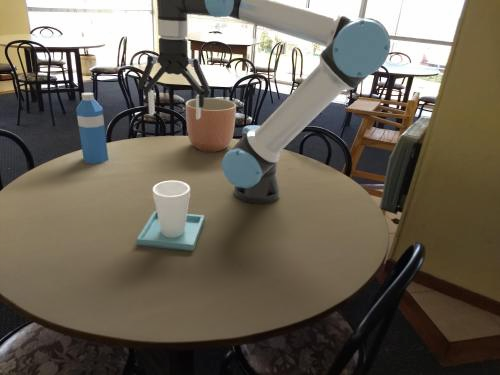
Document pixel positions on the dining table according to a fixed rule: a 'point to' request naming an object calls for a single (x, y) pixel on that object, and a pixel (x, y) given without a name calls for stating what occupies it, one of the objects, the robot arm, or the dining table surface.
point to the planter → (211, 124)
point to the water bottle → (92, 130)
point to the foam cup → (171, 206)
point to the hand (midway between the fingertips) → (175, 116)
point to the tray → (186, 241)
